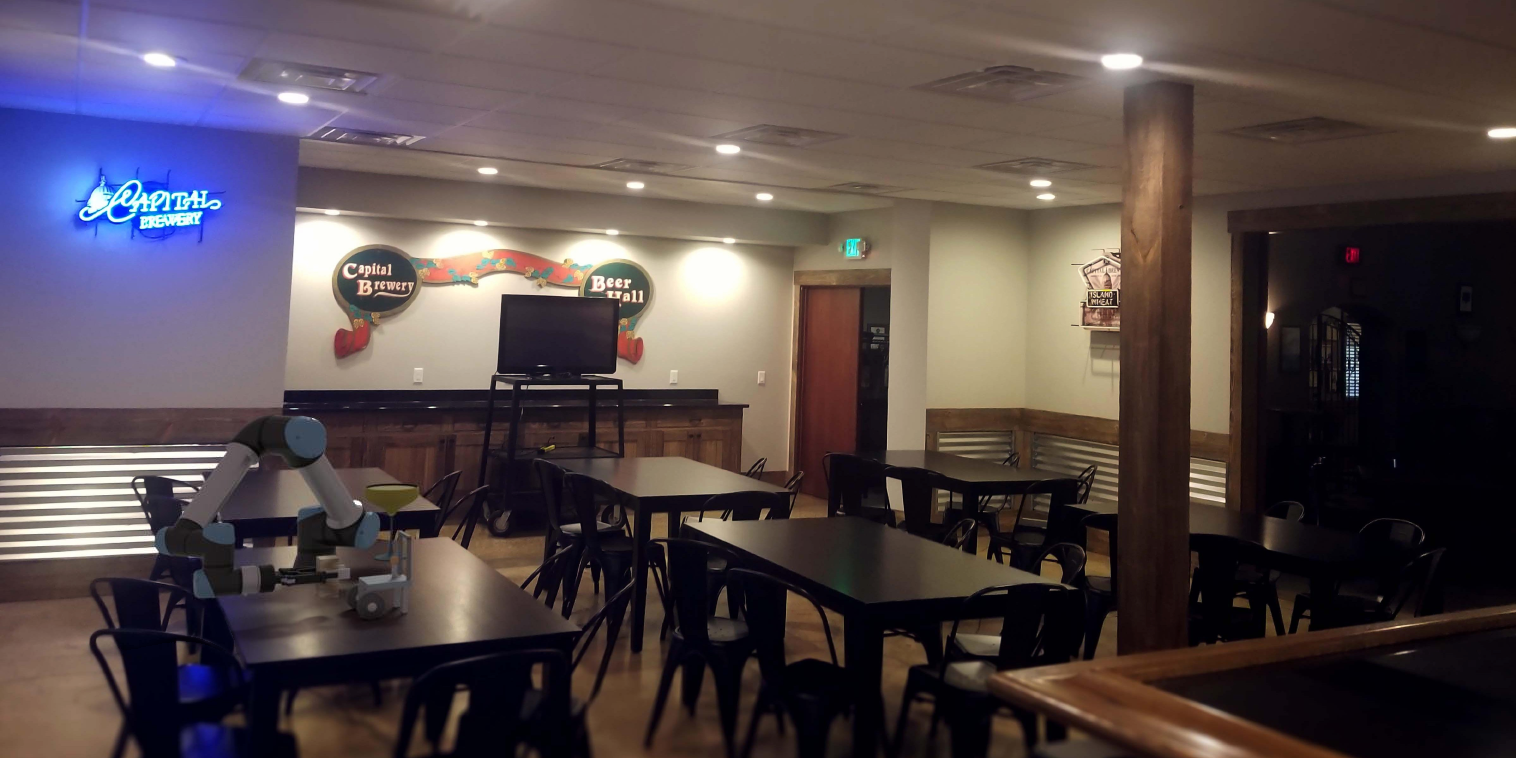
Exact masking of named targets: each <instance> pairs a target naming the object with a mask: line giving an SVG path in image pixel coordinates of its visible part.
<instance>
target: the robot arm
mask: <svg viewBox="0 0 1516 758" xmlns="http://www.w3.org/2000/svg"><path fill="white" fill-rule="evenodd" d="M327 441H328V439H327V432H326V429H325V426H324V424H322V423H321V421H320V420H318V419H316V418H313V417H308V416H304V415H298V416H297V415H278V414H277V415H276V414H275V415H274V414H265V415H262V416H259V417H256V418H255V419H253V420H251V421H250V422H248V423H247V424H246V425H244V426H243V427H242V428H241V429H240V430H239V431H237V432H236V433H235V435H234V436H232V438H231V439H230V440H229V442H228V443H227V445H226V447H225V450H226V452H225V454H224V455H223V457H222V458H221V459H220V461H219V462H218V463H217V465H216V466H215V468H213V471H212V472H211V473H210V475H209V476H208V477H207V478H206V480H205V481H204V483H203V484H202V486H201V487H200V489H199V490H198V491H197V493H196V494H195V495H194V497H193V498H192V500H190V502H189V504H187V506H186V508H185V509H184V510H183V512H182V513H181V514H180V516H179V517H178V519H177V520H176V522H175V523H174V525H173V526H172V525H169V526H164V527H162V528H160V529H159V530H158V531H157V532H156V534H155V537H154V547H155V549H156V551H157V552H159V553H160V554H162V555H167V556H170V557H187V558H194V559H202V568H201V569H198V570H195V571H194V573H193V582H192V583H193V584H192V585H193V595H194V596H195V597H196V598H198V599H209V598H210V599H211V598H212V599H216V598H223V597H232V596H241V595H244V597H248V596H249V595H250V594H251V595H253V594H257V593H260V594H264V593H273V592H274V591H275V589H276V585H281V586H282V587H283V586H287V587H291V586H299V585H310V584H311V585H312V584H316V583H323V584H325V583H326V581H327V580H338V579H339V580H347V579H351V568H346V564H340V563H339V569H336V570H325V571H323V572H316V556H329V555H336V556H337V557H338V554H337V547H340V548H347V549H356V550H359V549H361V550H362V549H363V550H364V549H369V548H371V547H372V546H373V545H374V544H375V542H376V541H377V539H378V536H379V534H380V528H381V520H380V517H379V514H377V513H376V512H374V511H372V510H371V511H367V510H366V509H365V508H364V506H363V504H362V503H361V502H360V501H359V500H358V499H353V498H352V496H351V495H350V493H349V491H348V490H347V488H346V487H345V485H344V483H343V481H342V480H341V479H340V477H339V476H338V474H337V473H336V471H335V468H333V466H332V464H331V463H330V461H329V460H328V458H327V456H326V455H325V452H326V447H327ZM265 456H279V457H280V456H281V457H282V458H283V461H284V462H285V463H286V464H287V466H288V467H289V468H291V469H294V470H297V471H298V473H299V474H300V476H301V477H302V478H303V480H304V481H305V483H306V485H307V486H308V488H309V489H310V491H311V493H312V494H313V496H314V497H315V499H316V500H317V501H318V503H319V504H314V505H308V506H304V507H301V508H300V509H299V510H298V512H297V519H296V556H295V559H294V562H293V565H292V567H280V568H278V569H277V570H276V569H275V566H274V565H273V564H271V563H270V564H260V565H258V567H257V565H256V564H255V565H244V566H243V565H242V566H235V549H236V548H235V547H236V546H235V545H236V544H235V542H236V537H235V526H234V525H233V524H231V523H229V522H213V520H214V519H215V518H216V516H217V515H218V513H219V512H220V511H221V509H222V508H223V507H224V505H225V504H226V502H227V501H228V499H229V498H230V497H231V495H232V494H233V492H234V491H235V489H237V486H238V485H239V483H241V481H242V480H243V478H244V477H245V475H246V473H247V472H248V471H249V469H250V468H251V467H252V466H256V465H257V464H259V462H260V460H261V459H262V458H263V457H265Z"/></svg>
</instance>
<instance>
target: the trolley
mask: <svg viewBox="0 0 1516 758" xmlns="http://www.w3.org/2000/svg"><path fill="white" fill-rule="evenodd" d="M397 534H398V535H397V536H398V537H397V554H398V557H396V556H393V557H392V558H391V560H390V561H389V562H390V564H391V574H382V575H381V574H379V575H370V576H362V577H361V576H360V577H358V583H355V584H353V585H351V586H350V587H348V589H347V591H346V593H345V597H344V598H345V602H346V604H347V605H348V606H349V607H350V608H352V609H353V610H356V611H357V613H358V615H359V616H361V617H362V618H363V619H365V620H368V621H373V620H376V619H378V618H380V617H381V616H382V614H383V613H384V612H385V608H386V604H385V600H384V598H382V596H381V595H379V594H377V593H376V592H373V591H381V590H383V591H384V590H390V589H393V607H394V608H401V613H402V614H408V613H409V587H412V586H413V580H412V579H411V578H412V535H410V534H408V533H407V532H405V531H403V530H398V532H397ZM404 539H405V540H406V558H405V559H406V563H405V564H406V565H405V566H406V567H405V569H406V570H405V573H406V574H403V559H402V555H404V554H403V551H404V550H403V545H404V544H403V543H404Z"/></svg>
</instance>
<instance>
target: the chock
mask: <svg viewBox="0 0 1516 758" xmlns="http://www.w3.org/2000/svg"><path fill="white" fill-rule="evenodd" d="M339 564H340V558H339V557H338V555H337V556H336V555H329V556H316V572H323V571H325V570H336V569H339ZM339 581H340V579H338V580H327V581H326V583H325V584H323V583H315V596H316V597H317V598H318V599H319V600H322V599H325V600H326V599H333V598H339V592H340V591H339V588H340V585H339V584H340V582H339Z"/></svg>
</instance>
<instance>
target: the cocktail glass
mask: <svg viewBox="0 0 1516 758" xmlns="http://www.w3.org/2000/svg"><path fill="white" fill-rule="evenodd" d="M419 495H420V486H419V485H417V484H412V483H399V482H398V483H394V482H391V483H377V484H369V485H367V486H365V487H364V498H365V500H367V502H369V503H371V504H372V505H375V506H376V507H379V508H381V509H382V510H384V511H385V512H386V514H387V515H388V516H389V517H390V530H389V531H390V534H389V535H390V537H389V550H388V552H387V553H385V554H379V555H376V556H375V557H374V559H375V560H377V561H382V562H383V561H384V562H386V561H387V562H391V561H390V560H391V558H392V557H393V556H396V557H398V553H395V552H394V547H393V518H394V516H395V515H396V514H397V513H398V511H399V510H400V509H402V508H404V507H406V506H408V505H410V504H411V503H413V502H415V501H416V500H417V499H418V498H419ZM406 556H407V554H403V555H402V560H405V559H406Z"/></svg>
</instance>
